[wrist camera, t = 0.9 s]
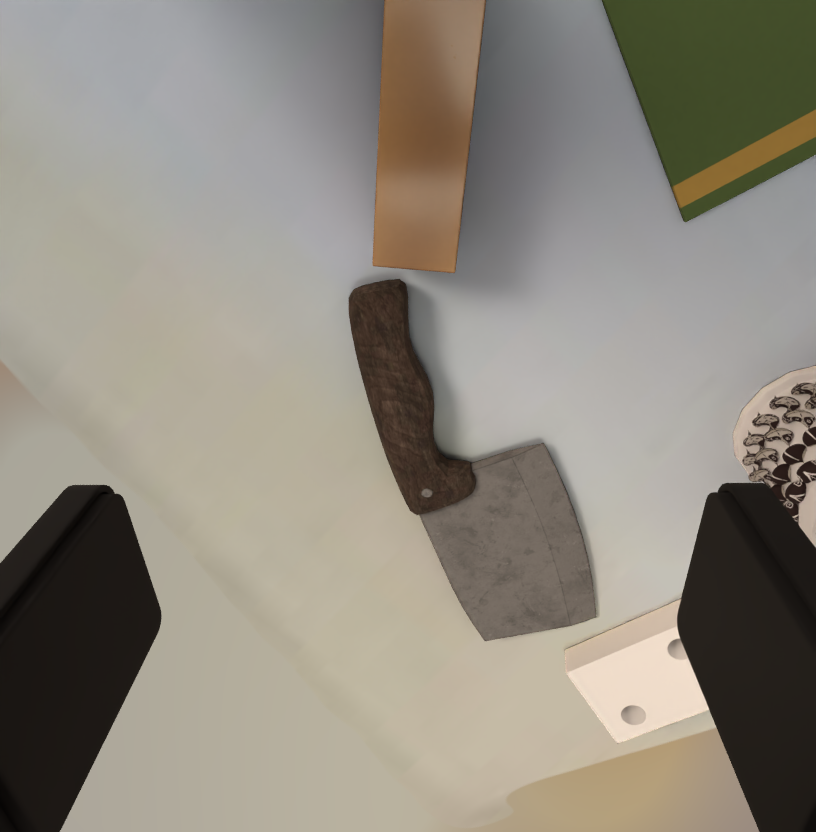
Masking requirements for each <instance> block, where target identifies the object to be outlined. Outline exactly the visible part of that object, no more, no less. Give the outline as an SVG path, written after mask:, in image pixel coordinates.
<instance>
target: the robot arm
mask: <svg viewBox="0 0 816 832" xmlns="http://www.w3.org/2000/svg"><path fill="white" fill-rule="evenodd" d="M160 624H161V610H160V606H159V603H158V600H157V597H156V594H155V591H154V588H153V585H152V582H151V579H150V576H149V573H148V570H147V567H146V564H145V561H144V558H143V555H142V552H141V549H140V546H139V543H138V540H137V537H136V534H135V531H134V528H133V525H132V522H131V519H130V516H129V513H128V510H127V507H126V504H125V501H124V499H123V497H122V496H121V495H119V494H115V493H114V491H113V490H112V489H111V488H110V486H107V485H72V486H69V487H67V488H66V489H65V490H64V491H63V492H62V493H61V494H60V495H59V497H58V498H57V499H56V500H55V501H54V502H53V504H52V505H51V506H50V507H49V508H48V509H47V511H46V512H45V513H44V514H43V515H42V516H41V517H40V518H39V520H38V521H37V522H36V523H35V524H34V525H33V526H32V528H31V529H30V530H29V531H28V532H27V533H26V535H25V536H24V537H23V538H22V539H21V540H20V541H19V543H18V544H17V545H16V546H15V547H14V548H13V549H12V551H11V552H10V553H9V554H8V555H7V556H6V557H5V559H4V560H3V561H2V562H1V563H0V832H60V830H61V828H62V826H63V824H64V822H65V820H66V818H67V816H68V814H69V812H70V810H71V808H72V806H73V804H74V802H75V800H76V798H77V796H78V794H79V792H80V790H81V788H82V786H83V784H84V782H85V779H86V778H87V776H88V773H89V772H90V769H91V767H92V765H93V763H94V761H95V759H96V757H97V755H98V753H99V751H100V749H101V747H102V745H103V743H104V741H105V739H106V737H107V735H108V733H109V731H110V729H111V727H112V725H113V723H114V721H115V719H116V717H117V715H118V712H119V711H120V709H121V707H122V705H123V703H124V701H125V698H126V696H127V694H128V692H129V690H130V688H131V686H132V684H133V682H134V680H135V678H136V676H137V674H138V672H139V670H140V668H141V666H142V664H143V662H144V660H145V658H146V656H147V654H148V652H149V650H150V648H151V646H152V644H153V642H154V640H155V638H156V635H157V633H158V631H159V628H160ZM677 628H678V633H679V637H680V640H681V642H682V644H683V647H684V649H685V652H686V654H687V657H688V659H689V661H690V664H691V666H692V669H693V671H694V674H695V676H696V679H697V681H698V683H699V686H700V688H701V691H702V693H703V696H704V698H705V700H706V703H707V705H708V708H709V710H710V713H711V715H712V717H713V720H714V722H715V725H716V727H717V729H718V732H719V734H720V737H721V739H722V742H723V744H724V747H725V749H726V751H727V754H728V756H729V759H730V761H731V764H732V766H733V768H734V770H735V773H736V776H737V778H738V781H739V783H740V785H741V788H742V790H743V793H744V795H745V798H746V800H747V802H748V804H749V807H750V810H751V812H752V815H753V817H754V819H755V822H756V824H757V827H758V829H759V831H760V832H816V547H815V546H814V545H813V543H812V542H811V541H810V540H809V538H808V537H807V536H806V534H805V533H804V532H803V530H802V529H801V528H800V526H799V525H798V524H797V523H796V521H795V520H794V519H793V517H792V516H791V515H790V513H789V512H788V511H787V509H786V508H785V507H784V506H783V504H782V503H781V502H780V500H779V499H778V498H777V496H776V495H775V494H774V492H773V491H772V490H771V489H770V488H769V487H768V486H767V485H766V484H763V483H725V484H722V486H721V487H720V488H719V490H718V493H710V494H709V495H708V497H707V499H706V503H705V507H704V511H703V515H702V519H701V523H700V526H699V530H698V534H697V538H696V542H695V546H694V550H693V554H692V558H691V562H690V566H689V570H688V574H687V578H686V582H685V586H684V590H683V594H682V598H681V601H680V605H679V609H678V614H677Z"/></svg>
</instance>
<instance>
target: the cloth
mask: <svg viewBox="0 0 816 832" xmlns="http://www.w3.org/2000/svg"><path fill="white" fill-rule="evenodd" d="M602 2H603V5H604V8H605V10H606V13H607V16H608V18H609V21H610V24H611V26H612V29H613V32H614V35H615V37H616V40H617V43H618V45H619V48H620V51H621V53H622V56H623V59H624V61H625V64H626V67H627V70H628V72H629V75H630V78H631V80H632V83H633V86H634V88H635V91H636V94H637V97H638V99H639V102H640V105H641V107H642V110H643V113H644V115H645V118H646V121H647V123H648V126H649V129H650V132H651V134H652V137H653V140H654V142H655V145H656V148H657V150H658V153H659V156H660V158H661V161H662V164H663V167H664V169H665V172H666V175H667V177H668V180H669V183H670V185H671V188H672V191H673V194H674V196H675V199H676V202H677V204H678V207H679V210H680V212H681V215H682V218H683V220H684V221H685V222H687V221H689V220H691V219H693V218H695V217H697V216H699V215H701V214H703V213H704V212H706V211H708V210H710V209H712V208H714V207H716V206H718V205H720V204H722V203H724V202H726V201H728V200H729V199H731V198H733V197H735V196H737V195H739V194H741V193H743V192H745V191H747V190H749V189H751V188H753V187H754V186H756V185H758V184H760V183H762V182H764V181H766V180H768V179H770V178H772V177H774V176H776V175H777V174H779V173H781V172H783V171H785V170H787V169H789V168H791V167H793V166H795V165H797V164H799V163H801V162H802V161H804V160H806V159H808V158H810V157H812V156H814V155H816V0H602Z"/></svg>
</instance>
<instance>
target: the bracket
mask: <svg viewBox="0 0 816 832" xmlns="http://www.w3.org/2000/svg"><path fill="white" fill-rule="evenodd" d="M680 601H681V599H680V600H677V601H675V602H673V603H670V604H668V605H666V606H664V607H661V608H659V609H657V610H655V611H652V612H650V613H648V614H645V615H643V616H641V617H639V618H636V619H634V620H632V621H630V622H627V623H625V624H623V625H620V626H618V627H616V628H614V629H611V630H609V631H607V632H604V633H602V634H600V635H598V636H595V637H593V638H591V639H589V640H586V641H584V642H582V643H579V644H577V645H575V646H573V647H570V648H568V649H566V650H565V665H566V674H567V675H568V677H569V678H570V679H571V681H572V682H573V684H574V685H575V686H576V688H577V689H578V690H579V692H580V693H581V695H582V696H583V697H584V699H585V700H586V701H587V703H588V704H589V706H590V707H591V708H592V710H593V711H594V712H595V714H596V715H597V716H598V718H599V719H600V721H601V722H602V723H603V725H604V726H605V727H606V729H607V730H608V732H609V733H610V734H611V736H612V737H613V738H614V740H615V741H616V743H617V744H618V743H620V742H623V741H626V740H628V739H631V738H634V737H636V736H639V735H642V734H645V733H647V732H650V731H653V730H655V729H658V728H661V727H664V726H666V725H669V724H672V723H674V722H677V721H680V720H683V719H685V718H688V717H691V716H693V715H696V714H699V713H701V712H704V711H707V710H709V708H708V705H707V703H706V700H705V698H704V696H703V693H702V691H701V688H700V686H699V683H698V681H697V679H696V676H695V674H694V671H693V669H692V666H691V664H690V661H689V659H688V657H687V654H686V652H685V649H684V647H683V644H682V642H681V640H680V637H679V633H678V628H677V614H678V609H679V605H680Z"/></svg>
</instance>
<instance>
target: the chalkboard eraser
mask: <svg viewBox="0 0 816 832" xmlns="http://www.w3.org/2000/svg"><path fill="white" fill-rule="evenodd" d="M485 7H486V0H384V21H383V43H382V66H381V88H380V110H379V132H378V154H377V176H376V199H375V221H374V243H373V266H379V267H390V268H402V269H414V270H425V271H437V272H449V273H455V269H456V261H457V252H458V243H459V234H460V226H461V217H462V208H463V199H464V191H465V182H466V173H467V164H468V156H469V147H470V138H471V129H472V121H473V112H474V103H475V94H476V86H477V77H478V68H479V59H480V51H481V42H482V33H483V24H484V16H485Z"/></svg>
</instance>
